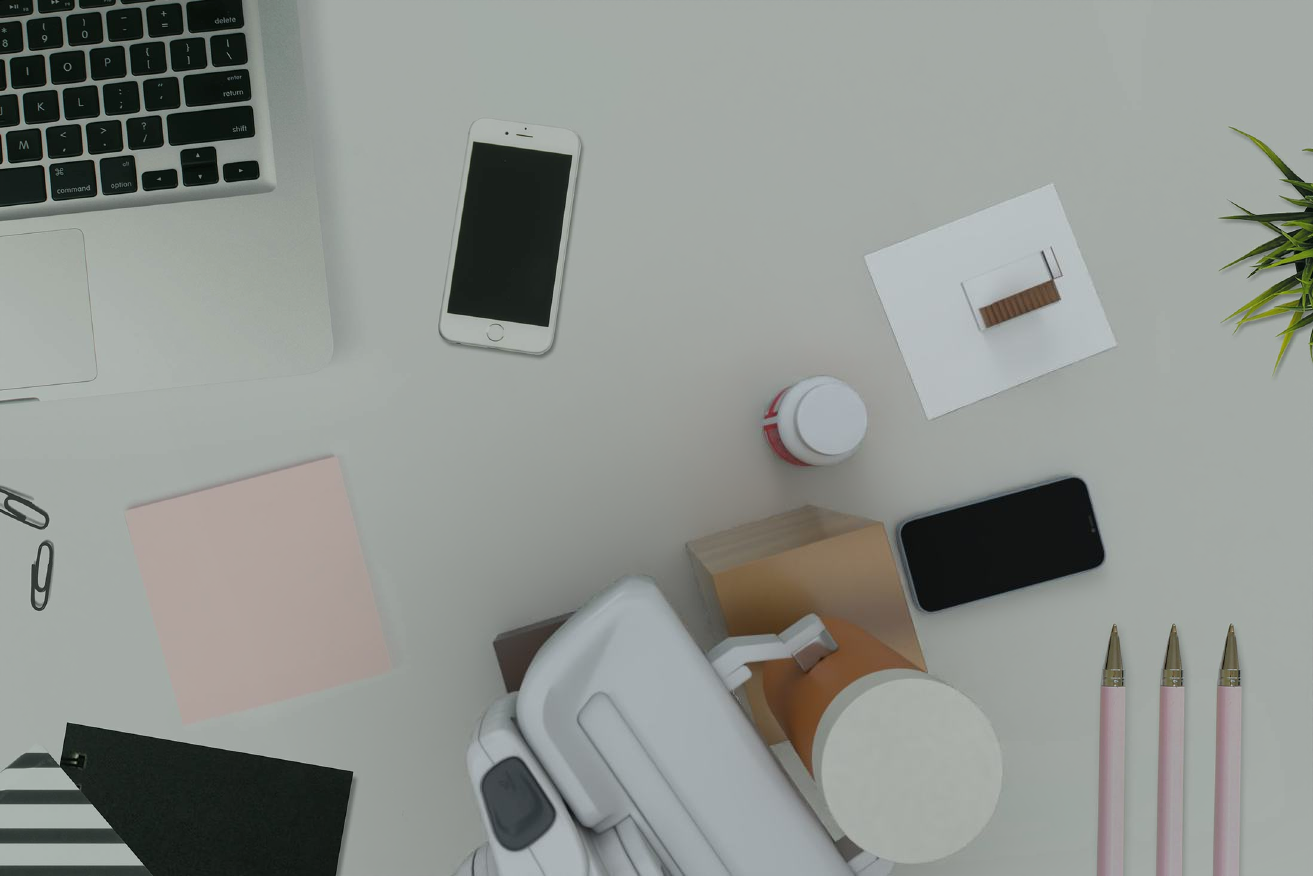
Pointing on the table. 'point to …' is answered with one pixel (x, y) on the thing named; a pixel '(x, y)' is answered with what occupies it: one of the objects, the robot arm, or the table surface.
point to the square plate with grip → (990, 301)
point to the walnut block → (523, 648)
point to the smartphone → (1001, 544)
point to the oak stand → (800, 587)
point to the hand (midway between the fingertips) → (876, 702)
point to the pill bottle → (815, 422)
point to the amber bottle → (888, 747)
